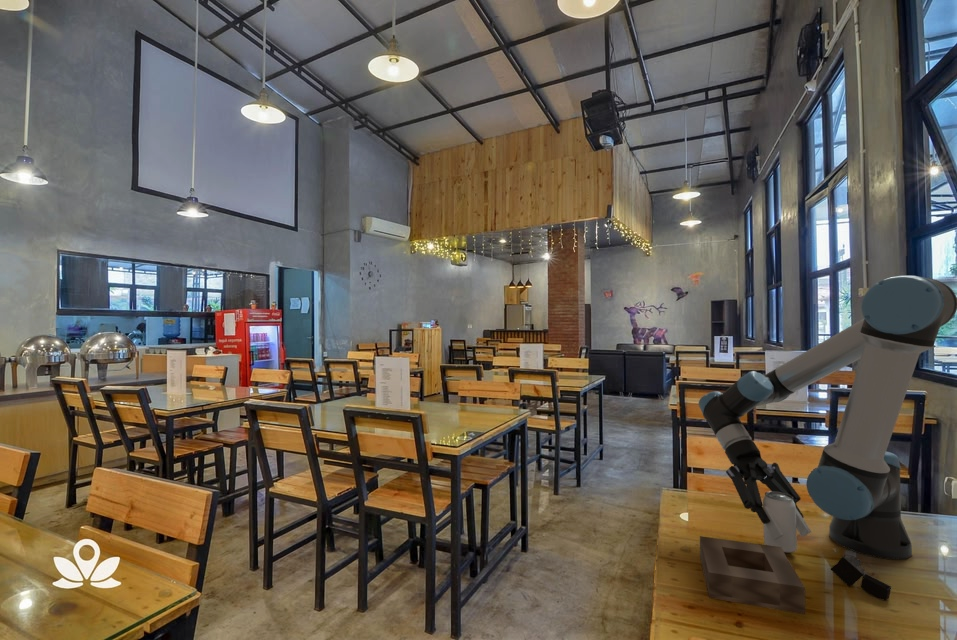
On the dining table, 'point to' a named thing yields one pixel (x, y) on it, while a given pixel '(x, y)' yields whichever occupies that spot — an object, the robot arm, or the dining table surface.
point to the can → (782, 520)
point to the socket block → (751, 574)
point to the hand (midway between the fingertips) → (792, 535)
